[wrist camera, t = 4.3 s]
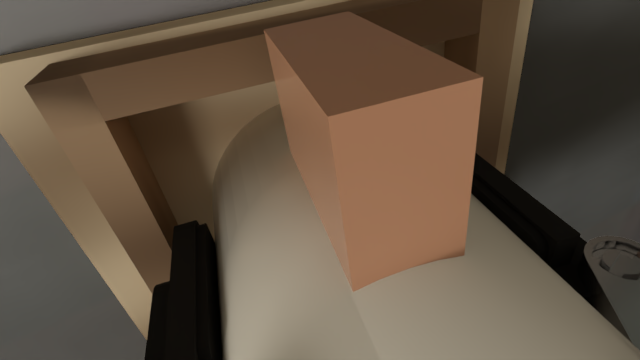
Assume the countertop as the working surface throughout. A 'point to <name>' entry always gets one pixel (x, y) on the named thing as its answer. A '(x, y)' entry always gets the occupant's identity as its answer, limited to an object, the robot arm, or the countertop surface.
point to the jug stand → (203, 115)
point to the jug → (378, 218)
